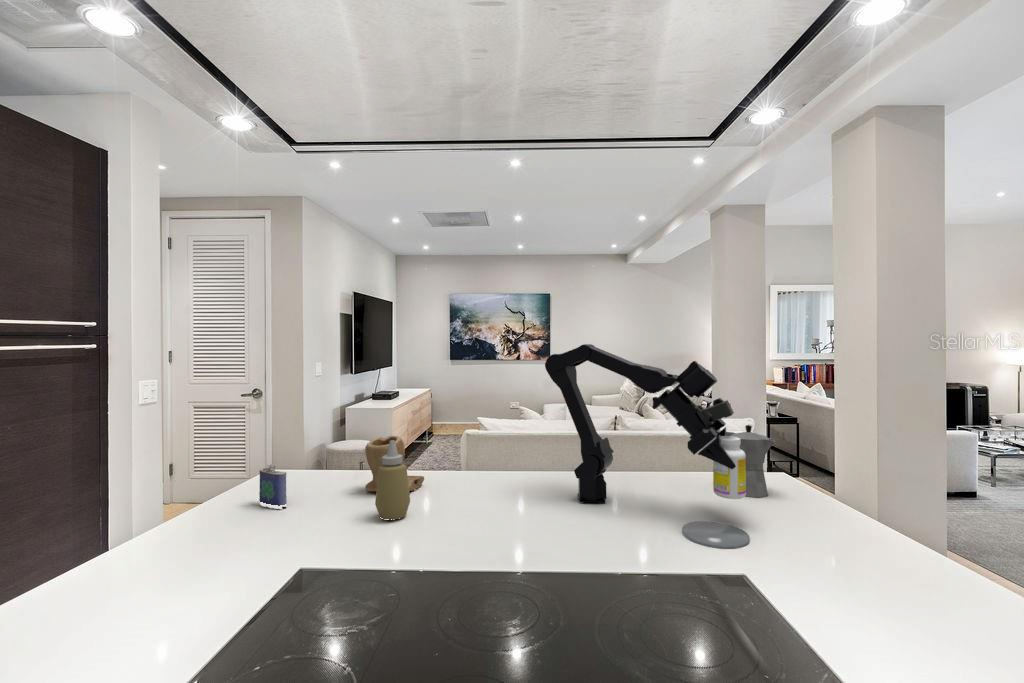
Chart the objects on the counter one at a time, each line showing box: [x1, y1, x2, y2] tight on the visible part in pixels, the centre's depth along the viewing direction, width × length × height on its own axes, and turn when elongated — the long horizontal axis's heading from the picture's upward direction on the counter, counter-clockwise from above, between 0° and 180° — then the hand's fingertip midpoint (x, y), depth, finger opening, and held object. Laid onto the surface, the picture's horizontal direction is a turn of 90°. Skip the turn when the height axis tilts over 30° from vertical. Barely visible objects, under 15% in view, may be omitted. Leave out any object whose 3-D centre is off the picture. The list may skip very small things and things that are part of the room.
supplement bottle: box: [712, 436, 746, 500], centre depth 107 cm, size 7×7×13 cm
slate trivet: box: [681, 520, 751, 550], centre depth 100 cm, size 13×13×1 cm
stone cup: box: [364, 435, 425, 493], centre depth 133 cm, size 15×12×15 cm
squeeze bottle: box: [374, 440, 411, 520], centre depth 113 cm, size 8×8×18 cm
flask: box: [258, 463, 288, 506], centre depth 121 cm, size 9×3×11 cm, turn 61°
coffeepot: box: [726, 424, 777, 499], centre depth 129 cm, size 15×9×18 cm, turn 44°
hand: (735, 464), depth 106 cm, fingers closed on supplement bottle, 7 cm apart
